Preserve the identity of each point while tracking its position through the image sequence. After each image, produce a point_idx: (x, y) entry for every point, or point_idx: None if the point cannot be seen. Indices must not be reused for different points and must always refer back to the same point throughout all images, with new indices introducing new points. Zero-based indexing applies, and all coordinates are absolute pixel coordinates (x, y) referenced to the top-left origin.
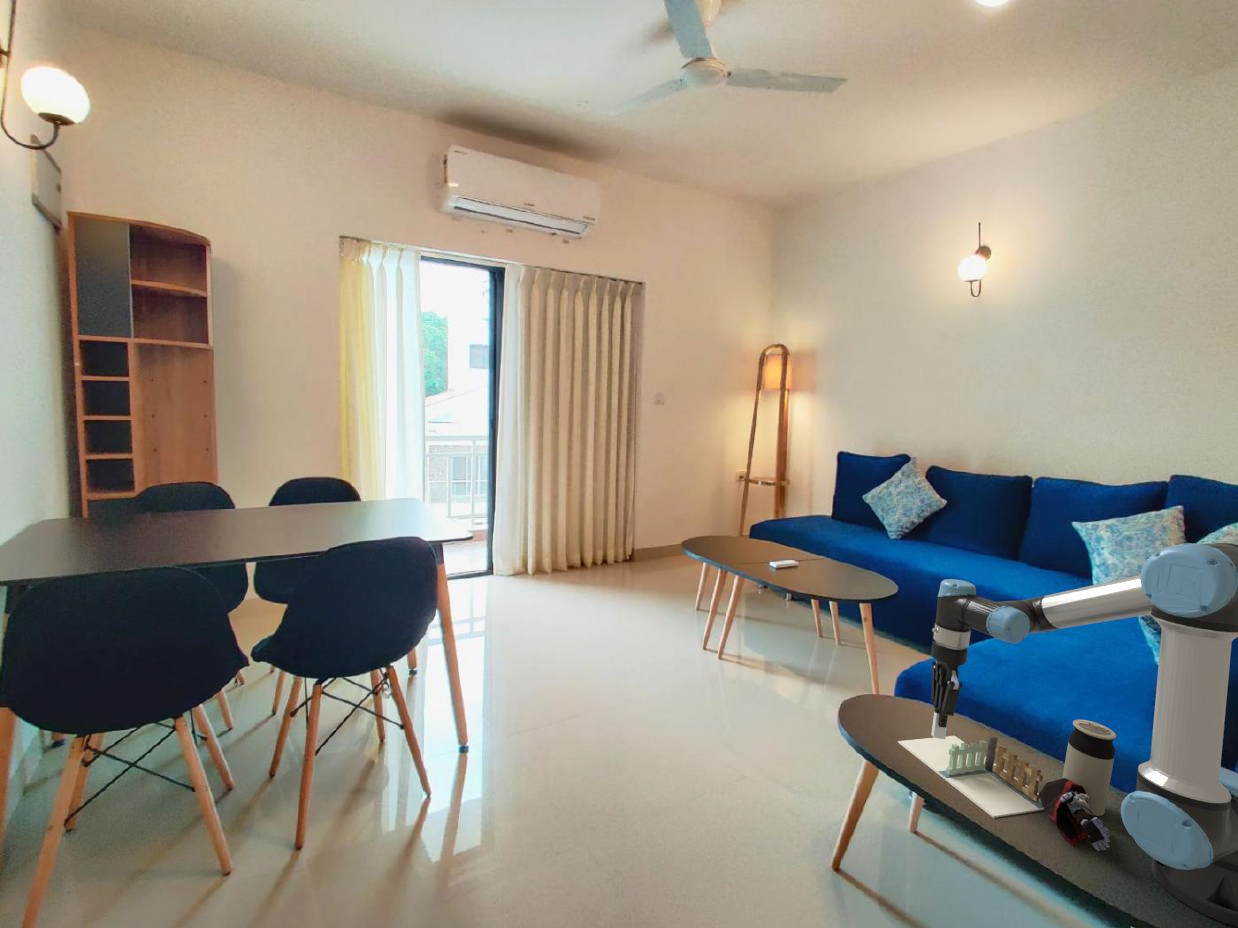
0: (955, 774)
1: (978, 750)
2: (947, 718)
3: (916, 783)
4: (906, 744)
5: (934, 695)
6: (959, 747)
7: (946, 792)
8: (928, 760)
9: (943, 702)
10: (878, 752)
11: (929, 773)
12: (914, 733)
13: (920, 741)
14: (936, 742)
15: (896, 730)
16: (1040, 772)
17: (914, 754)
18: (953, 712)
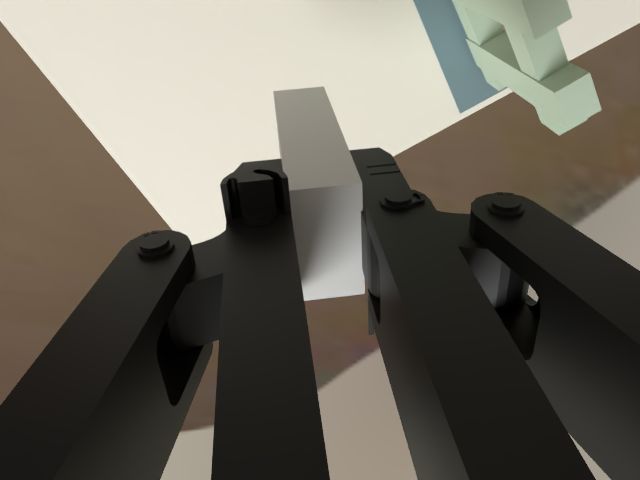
0: None
1: None
2: (351, 162)
3: None
4: (216, 225)
5: (192, 390)
6: (526, 43)
7: (622, 109)
8: (352, 138)
9: (562, 405)
10: (343, 344)
11: (467, 154)
12: (11, 146)
13: (130, 138)
14: (78, 28)
15: (44, 244)
16: None
17: None
18: (556, 224)
